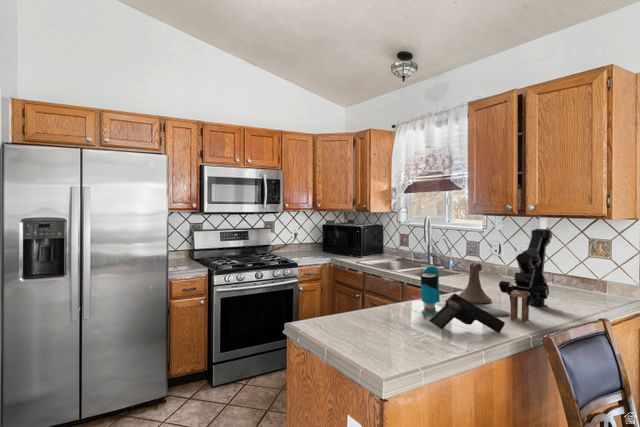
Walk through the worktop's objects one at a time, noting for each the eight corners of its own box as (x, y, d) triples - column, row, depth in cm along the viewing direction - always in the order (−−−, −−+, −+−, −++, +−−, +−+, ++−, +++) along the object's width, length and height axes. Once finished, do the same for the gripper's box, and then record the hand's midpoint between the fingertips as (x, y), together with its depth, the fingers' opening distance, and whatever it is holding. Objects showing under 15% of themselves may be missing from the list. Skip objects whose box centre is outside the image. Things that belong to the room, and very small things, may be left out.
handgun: (485, 355, 146) (505, 323, 145) (429, 321, 150) (449, 290, 149) (483, 352, 149) (503, 321, 147) (429, 320, 153) (448, 289, 151)
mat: (494, 309, 179) (494, 307, 179) (515, 315, 169) (515, 313, 169) (478, 311, 175) (478, 310, 175) (498, 318, 165) (498, 316, 165)
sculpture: (497, 301, 194) (498, 263, 194) (478, 306, 184) (479, 266, 184) (468, 295, 208) (469, 259, 207) (449, 299, 198) (450, 261, 198)
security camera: (416, 267, 170) (427, 265, 178) (416, 313, 171) (426, 309, 178) (434, 269, 165) (444, 267, 172) (433, 317, 165) (443, 312, 172)
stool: (514, 316, 167) (514, 290, 166) (528, 319, 163) (529, 292, 162) (510, 319, 162) (510, 292, 162) (525, 322, 158) (525, 294, 158)
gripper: (500, 263, 171) (492, 291, 163) (547, 268, 159) (540, 298, 151) (505, 278, 177) (497, 305, 169) (550, 283, 165) (544, 313, 157)
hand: (518, 305), depth 161 cm, fingers closed on stool, 6 cm apart
